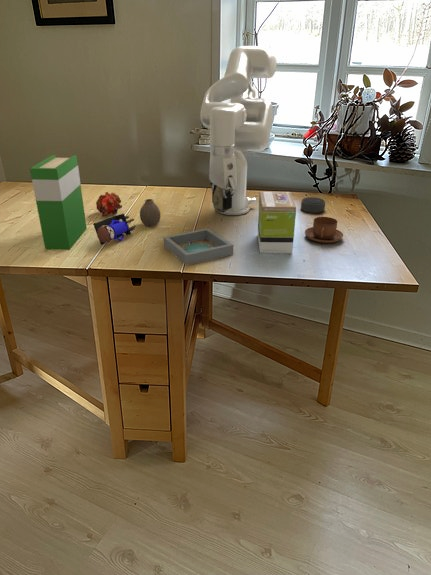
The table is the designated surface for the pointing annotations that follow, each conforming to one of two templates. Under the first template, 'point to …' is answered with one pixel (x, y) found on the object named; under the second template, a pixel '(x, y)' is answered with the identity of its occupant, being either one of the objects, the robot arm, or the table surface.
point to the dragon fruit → (108, 204)
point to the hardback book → (59, 201)
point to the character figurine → (113, 228)
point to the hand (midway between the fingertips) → (221, 205)
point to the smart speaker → (313, 205)
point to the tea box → (276, 222)
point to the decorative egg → (219, 199)
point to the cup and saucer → (324, 230)
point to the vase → (150, 213)
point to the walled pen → (198, 246)
